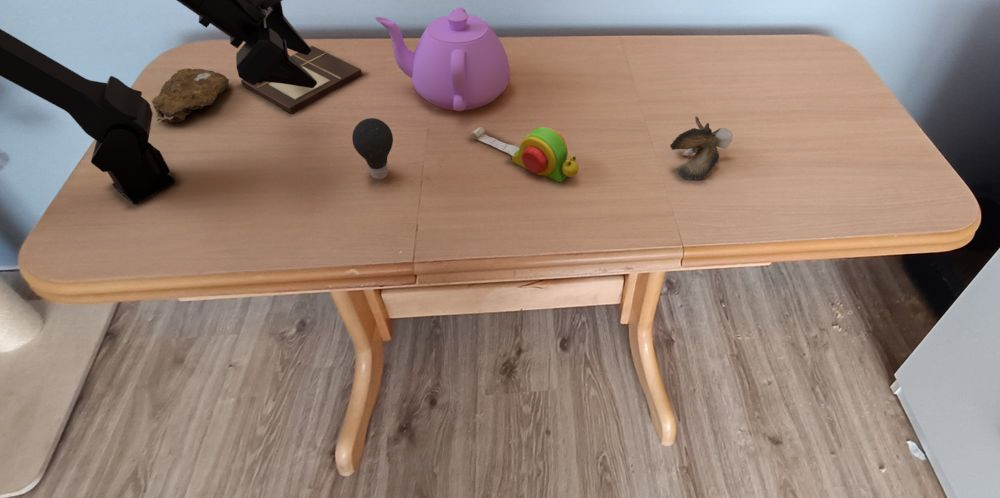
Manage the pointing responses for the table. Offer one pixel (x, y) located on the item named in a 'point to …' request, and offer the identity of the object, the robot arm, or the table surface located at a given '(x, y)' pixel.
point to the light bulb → (373, 145)
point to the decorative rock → (188, 93)
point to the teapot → (454, 61)
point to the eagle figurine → (701, 149)
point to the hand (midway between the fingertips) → (312, 68)
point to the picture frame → (320, 67)
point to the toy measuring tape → (537, 153)
